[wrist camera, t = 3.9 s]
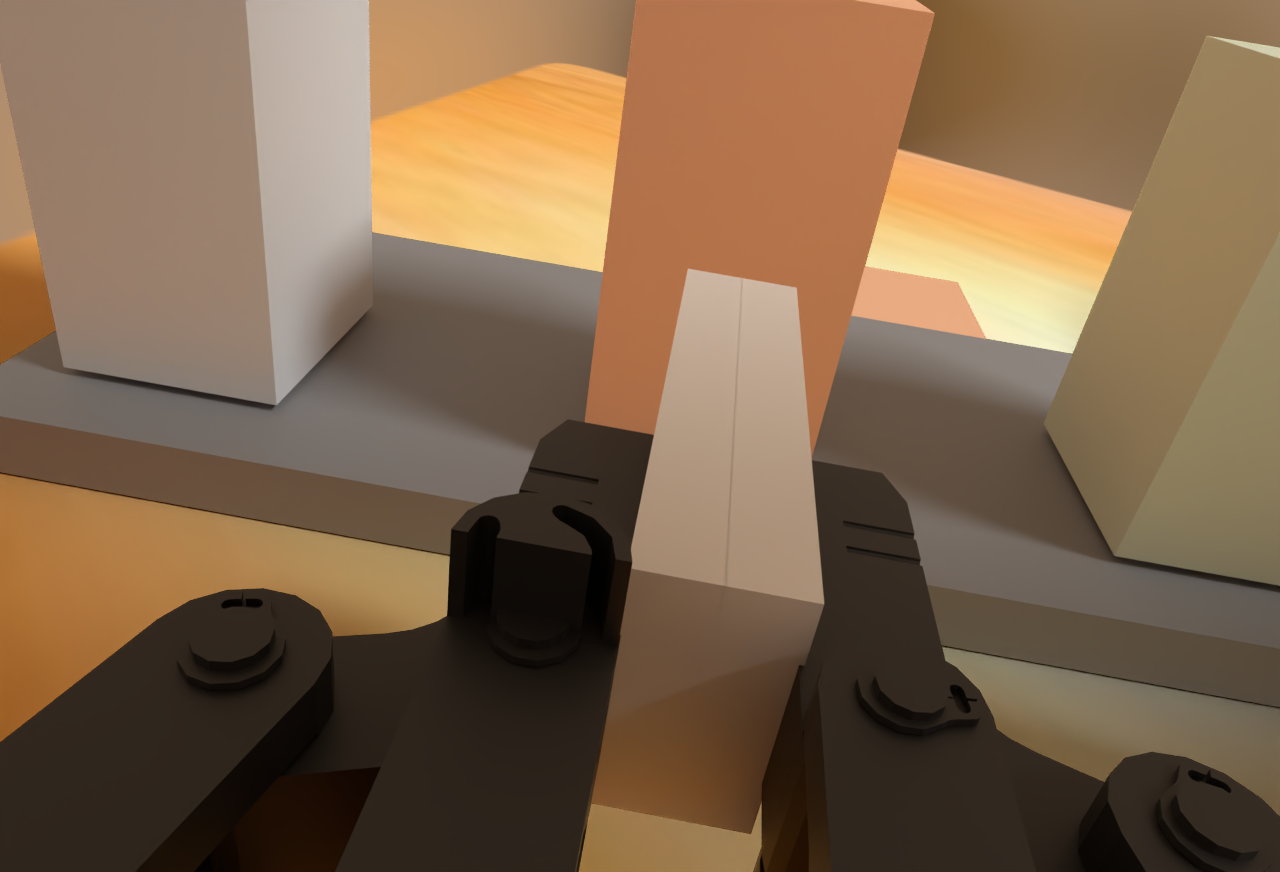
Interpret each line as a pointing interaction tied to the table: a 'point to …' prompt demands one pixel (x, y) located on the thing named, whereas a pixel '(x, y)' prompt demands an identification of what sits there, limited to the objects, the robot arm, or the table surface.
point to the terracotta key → (748, 174)
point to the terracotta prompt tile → (915, 302)
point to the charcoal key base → (557, 391)
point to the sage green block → (1190, 339)
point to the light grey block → (196, 182)
